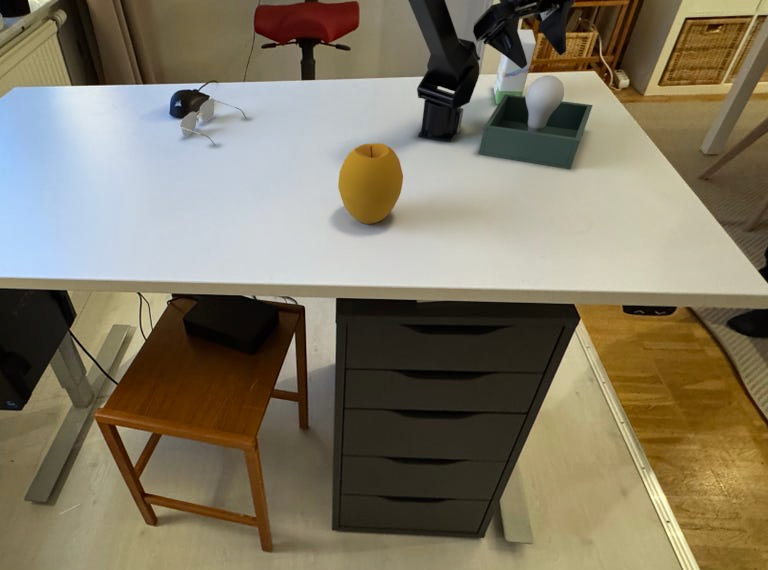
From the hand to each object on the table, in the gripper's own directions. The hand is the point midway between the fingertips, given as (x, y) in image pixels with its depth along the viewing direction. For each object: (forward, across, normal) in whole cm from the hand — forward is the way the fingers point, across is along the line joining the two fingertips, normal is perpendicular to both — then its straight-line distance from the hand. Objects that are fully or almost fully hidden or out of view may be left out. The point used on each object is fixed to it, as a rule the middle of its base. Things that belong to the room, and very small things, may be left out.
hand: (544, 60), depth 91 cm
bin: (+11, 0, +8) cm, 14 cm away
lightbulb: (+11, 0, +8) cm, 13 cm away
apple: (+13, -39, +6) cm, 42 cm away
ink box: (-2, +12, +21) cm, 25 cm away
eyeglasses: (-20, -45, +39) cm, 62 cm away
